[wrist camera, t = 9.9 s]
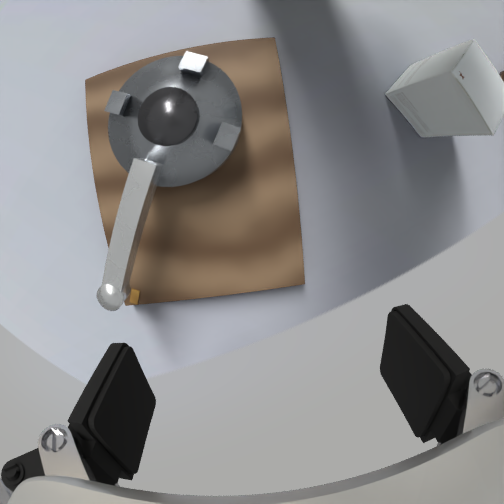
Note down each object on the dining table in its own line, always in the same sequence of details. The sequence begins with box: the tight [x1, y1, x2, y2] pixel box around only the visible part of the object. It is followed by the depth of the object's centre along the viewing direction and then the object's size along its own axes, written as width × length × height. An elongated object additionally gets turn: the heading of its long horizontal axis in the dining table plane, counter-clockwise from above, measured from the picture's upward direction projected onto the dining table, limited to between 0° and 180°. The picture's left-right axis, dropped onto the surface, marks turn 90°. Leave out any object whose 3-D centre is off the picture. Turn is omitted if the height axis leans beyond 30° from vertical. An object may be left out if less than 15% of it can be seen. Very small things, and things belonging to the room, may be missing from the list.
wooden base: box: [85, 38, 305, 306], centre depth 27 cm, size 27×21×2 cm
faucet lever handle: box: [97, 51, 242, 311], centre depth 23 cm, size 24×12×7 cm, turn 158°
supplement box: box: [385, 39, 504, 138], centre depth 20 cm, size 7×7×13 cm
